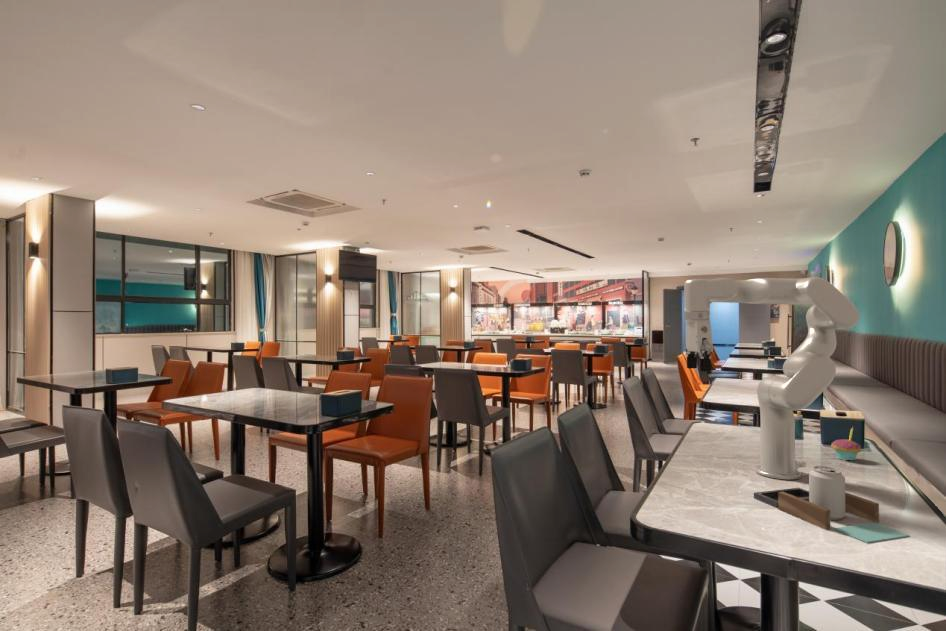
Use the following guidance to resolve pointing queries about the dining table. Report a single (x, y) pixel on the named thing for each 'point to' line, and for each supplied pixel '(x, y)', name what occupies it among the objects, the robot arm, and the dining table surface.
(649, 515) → the dining table surface
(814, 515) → the wooden corridor walls
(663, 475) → the dining table surface
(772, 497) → the tray
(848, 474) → the dining table surface
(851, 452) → the cupcake
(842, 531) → the pad
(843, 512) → the can
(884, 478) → the dining table surface
